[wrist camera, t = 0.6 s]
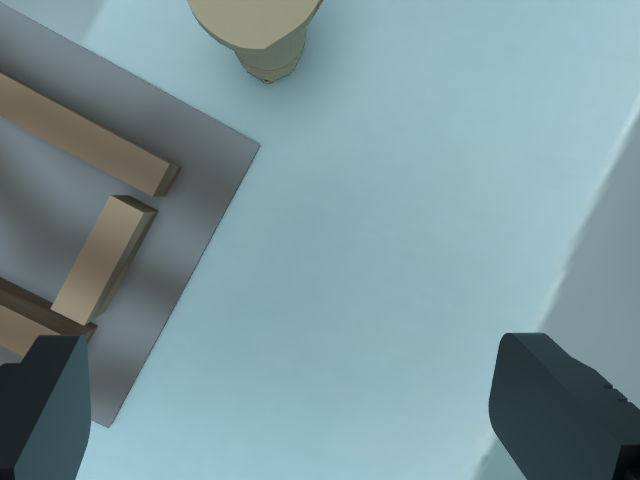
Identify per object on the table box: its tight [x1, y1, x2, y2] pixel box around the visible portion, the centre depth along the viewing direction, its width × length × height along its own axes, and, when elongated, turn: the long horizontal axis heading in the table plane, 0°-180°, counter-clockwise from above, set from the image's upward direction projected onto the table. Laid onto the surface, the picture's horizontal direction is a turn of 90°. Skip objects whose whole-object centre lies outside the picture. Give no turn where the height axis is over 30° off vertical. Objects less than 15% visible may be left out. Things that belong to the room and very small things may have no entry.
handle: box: [187, 0, 323, 83], centre depth 28 cm, size 5×6×15 cm
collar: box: [0, 2, 260, 428], centre depth 33 cm, size 20×20×5 cm
